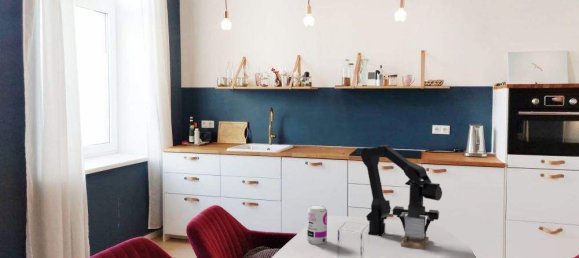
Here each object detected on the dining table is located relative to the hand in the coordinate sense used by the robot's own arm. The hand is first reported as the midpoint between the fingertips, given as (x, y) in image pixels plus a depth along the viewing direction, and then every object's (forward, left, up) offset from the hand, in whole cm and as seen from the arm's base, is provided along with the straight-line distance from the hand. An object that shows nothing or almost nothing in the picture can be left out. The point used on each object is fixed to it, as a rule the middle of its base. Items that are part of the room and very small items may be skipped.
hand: (415, 232), depth 205 cm
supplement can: (-39, -15, -5) cm, 42 cm away
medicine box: (0, 0, -2) cm, 2 cm away
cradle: (0, 0, -5) cm, 5 cm away
